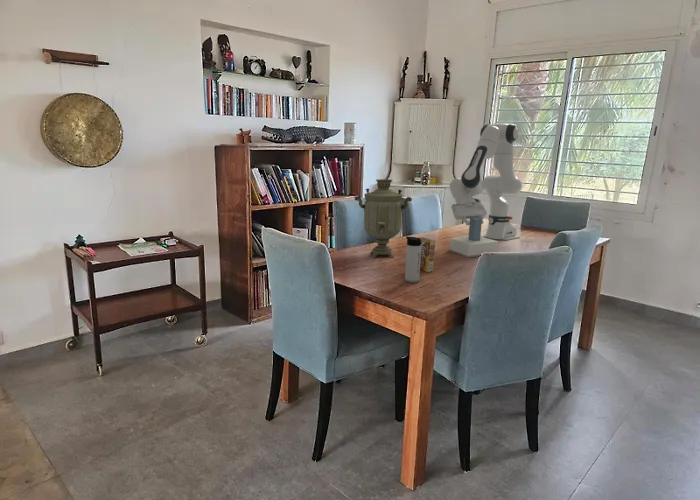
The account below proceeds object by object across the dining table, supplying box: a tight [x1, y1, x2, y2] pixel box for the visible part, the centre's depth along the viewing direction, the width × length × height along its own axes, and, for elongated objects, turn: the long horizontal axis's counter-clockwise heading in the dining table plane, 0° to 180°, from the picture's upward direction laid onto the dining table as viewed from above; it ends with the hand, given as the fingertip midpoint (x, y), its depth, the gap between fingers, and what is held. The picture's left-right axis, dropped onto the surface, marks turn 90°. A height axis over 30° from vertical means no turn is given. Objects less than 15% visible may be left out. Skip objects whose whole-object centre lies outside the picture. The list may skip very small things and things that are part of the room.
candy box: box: [417, 236, 436, 273], centre depth 219 cm, size 9×4×15 cm, turn 39°
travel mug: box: [404, 236, 421, 284], centre depth 201 cm, size 6×7×20 cm
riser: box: [448, 236, 499, 259], centre depth 255 cm, size 21×17×7 cm
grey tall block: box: [467, 218, 483, 241], centre depth 253 cm, size 4×4×12 cm
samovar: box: [354, 178, 413, 259], centre depth 239 cm, size 30×26×40 cm
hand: (475, 224), depth 253 cm, fingers open, 8 cm apart
